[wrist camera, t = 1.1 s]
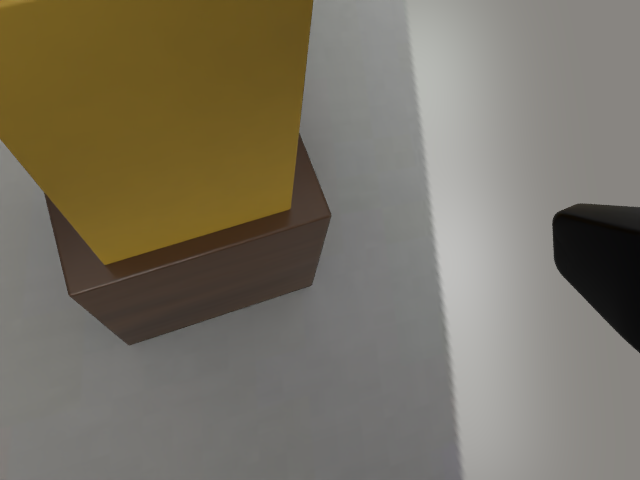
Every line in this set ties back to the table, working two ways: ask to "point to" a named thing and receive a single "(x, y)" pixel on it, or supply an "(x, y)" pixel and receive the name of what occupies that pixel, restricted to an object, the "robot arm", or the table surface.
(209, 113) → the yellow rectangular block
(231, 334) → the table surface
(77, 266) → the stand
